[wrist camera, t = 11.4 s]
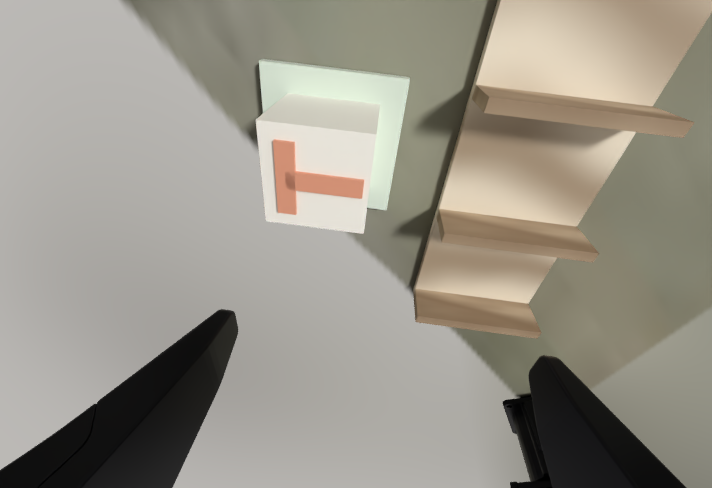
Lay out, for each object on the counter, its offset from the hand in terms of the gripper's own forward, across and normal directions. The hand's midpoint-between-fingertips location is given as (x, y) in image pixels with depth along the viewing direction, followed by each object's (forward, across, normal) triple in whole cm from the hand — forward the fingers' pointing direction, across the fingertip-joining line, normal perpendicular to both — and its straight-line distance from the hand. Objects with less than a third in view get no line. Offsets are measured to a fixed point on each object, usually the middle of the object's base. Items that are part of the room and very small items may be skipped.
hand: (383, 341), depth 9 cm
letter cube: (+10, +3, -2) cm, 11 cm away
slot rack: (+11, -7, -2) cm, 13 cm away
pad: (+11, +3, -2) cm, 12 cm away
